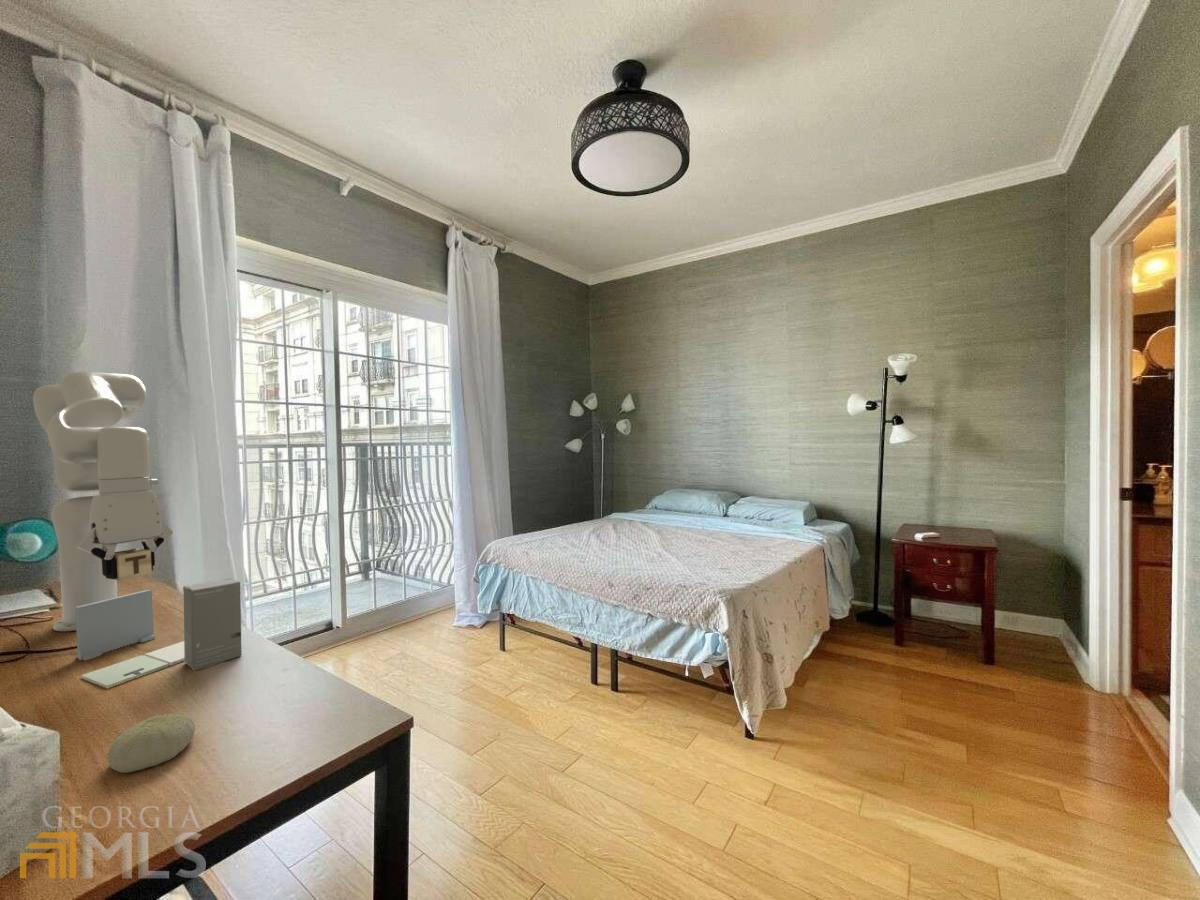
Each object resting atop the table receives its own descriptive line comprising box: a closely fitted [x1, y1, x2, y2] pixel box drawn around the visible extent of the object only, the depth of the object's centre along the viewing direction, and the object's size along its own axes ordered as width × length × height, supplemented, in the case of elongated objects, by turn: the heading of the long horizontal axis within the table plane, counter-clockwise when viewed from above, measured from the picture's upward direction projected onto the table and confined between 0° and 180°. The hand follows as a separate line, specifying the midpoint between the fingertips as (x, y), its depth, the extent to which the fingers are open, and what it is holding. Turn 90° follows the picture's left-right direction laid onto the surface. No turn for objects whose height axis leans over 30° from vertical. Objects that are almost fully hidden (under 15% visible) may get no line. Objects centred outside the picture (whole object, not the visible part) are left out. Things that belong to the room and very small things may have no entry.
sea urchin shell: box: [106, 713, 196, 774], centre depth 68 cm, size 9×8×8 cm
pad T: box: [81, 654, 169, 690], centre depth 93 cm, size 10×9×1 cm
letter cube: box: [113, 548, 153, 581], centre depth 98 cm, size 5×5×5 cm
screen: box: [75, 589, 156, 661], centre depth 104 cm, size 4×12×11 cm, turn 156°
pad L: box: [144, 640, 185, 666], centre depth 101 cm, size 10×9×1 cm
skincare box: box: [182, 577, 243, 671], centre depth 98 cm, size 8×7×16 cm
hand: (129, 573), depth 98 cm, fingers closed on letter cube, 5 cm apart
